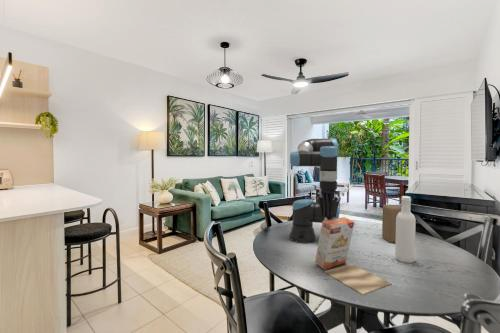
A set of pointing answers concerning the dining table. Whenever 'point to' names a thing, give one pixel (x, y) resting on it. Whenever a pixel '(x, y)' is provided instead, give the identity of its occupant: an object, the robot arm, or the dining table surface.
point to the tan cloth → (357, 278)
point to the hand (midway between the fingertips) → (327, 231)
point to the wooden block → (390, 222)
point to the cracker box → (334, 242)
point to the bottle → (405, 233)
